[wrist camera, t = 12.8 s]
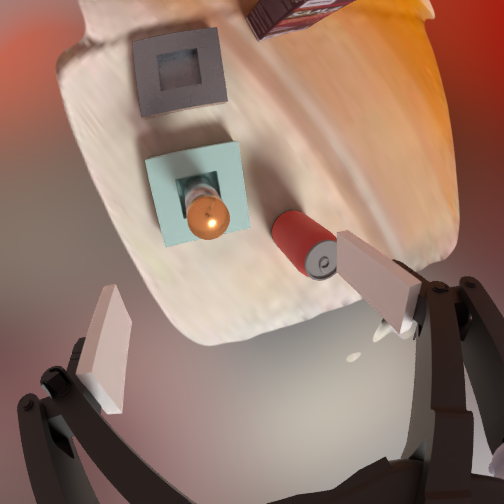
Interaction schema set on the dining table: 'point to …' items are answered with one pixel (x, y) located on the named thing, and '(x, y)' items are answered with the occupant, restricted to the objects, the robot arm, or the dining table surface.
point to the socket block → (186, 167)
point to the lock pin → (205, 209)
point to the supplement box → (289, 15)
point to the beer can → (306, 245)
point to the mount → (179, 72)
